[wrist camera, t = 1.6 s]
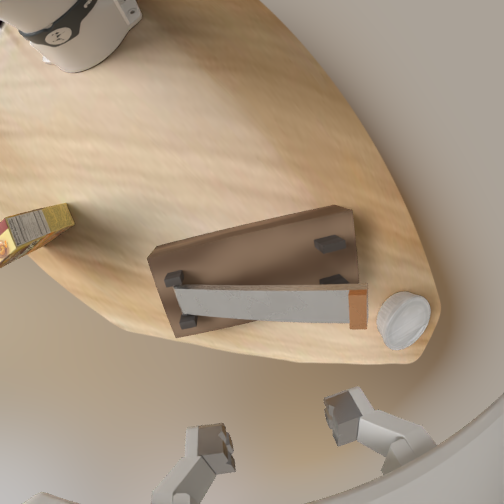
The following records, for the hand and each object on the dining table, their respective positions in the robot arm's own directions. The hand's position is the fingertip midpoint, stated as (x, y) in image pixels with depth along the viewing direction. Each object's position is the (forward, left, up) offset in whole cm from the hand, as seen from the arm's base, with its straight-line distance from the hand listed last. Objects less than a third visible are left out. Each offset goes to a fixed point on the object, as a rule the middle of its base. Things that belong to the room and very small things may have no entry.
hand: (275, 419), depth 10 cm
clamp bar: (+4, +1, -19) cm, 20 cm away
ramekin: (+21, +27, -32) cm, 47 cm away
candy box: (-10, -28, -31) cm, 43 cm away
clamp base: (+4, +2, -31) cm, 31 cm away
